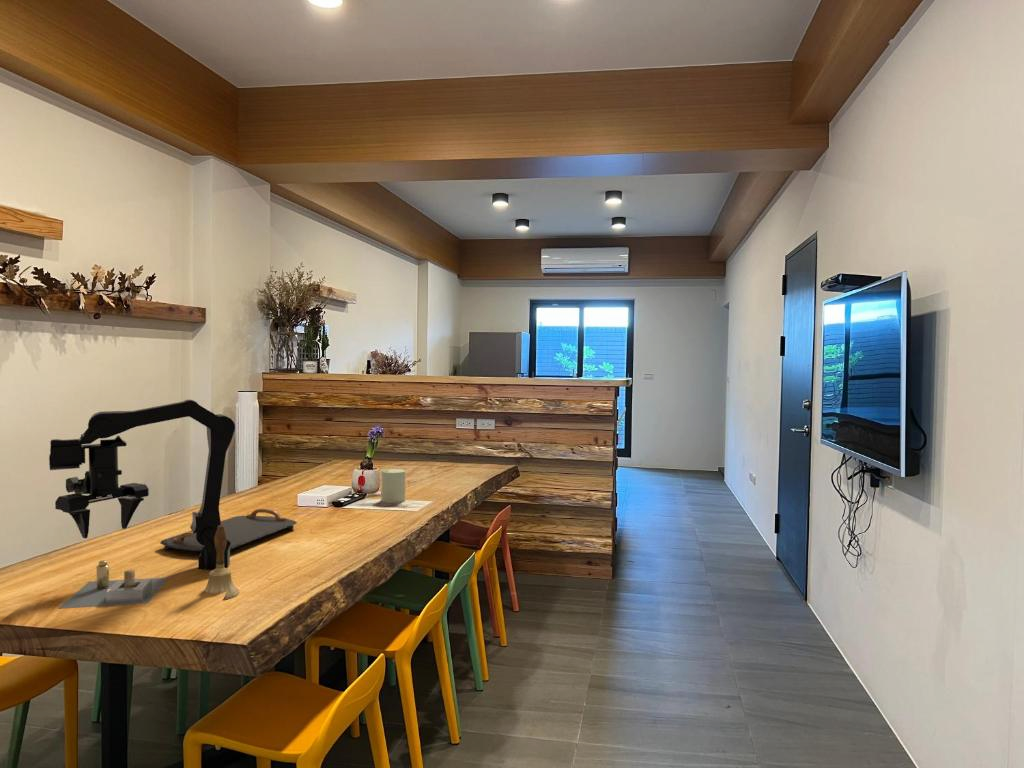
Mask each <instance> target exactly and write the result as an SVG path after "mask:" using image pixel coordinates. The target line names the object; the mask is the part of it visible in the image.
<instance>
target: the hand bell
mask: <svg viewBox="0 0 1024 768" xmlns="http://www.w3.org/2000/svg"><path fill="white" fill-rule="evenodd" d="M214 543H215V548H216V552H217V560H216V561H217V562H216V569H214V570H210V572H209V573H208V580H207V583H206V586H205V587H204V592H205V593H209V594H220V593H221V594H222V593H225V595H224V597H222V598H223V599H222V601H227V600H230V599H233V598H236V597H237V596H238V595H239V594H240V590H239V589H238V588H237V587H236V586H235V584H234V582H233V580H232V573H231V570H230V569H228V568H225V567H224V551H225V548H226V543H227V535H226V532H225V529H224V525H219V526H218V528H217V531H216V534H215V538H214Z"/></svg>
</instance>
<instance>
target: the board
mask: <svg viewBox="0 0 1024 768" xmlns="http://www.w3.org/2000/svg"><path fill="white" fill-rule="evenodd" d="M141 579H142V578H135V580H141ZM147 579H152V590H151V591H150V593H149V594H148V595H147V596H146V597H145V598H144V600H143V601H133V602H117V603H106V591H107V590H108V589H109V588H110V587H111V586H112V585H113V584H114V583H115V582H116V581H122V580H123V579H115V580H114V579H113V580H109V588H107V589H101V590H99V589H97V580H96V581H88V582H86V584H85V585H84V586H82V587H81V588H80V589H79V590H77V592H75V593H74V594H73V595H71V596H70V597H69V598H68V599H67V600H66V601H65V602H63V604H61V605H60V606H59V607H58V608H57V610H59V609H74V608H75V609H76V608H91V607H92V608H93V607H108V606H123V605H140V604H149V603H150V601H151V600H152V599H153V598H154V596H156V594H157V593H158V592H159V591H160V589H161V588H162V587H163V586H164V585H165V583H166V582H167V581H168V580H169V577H167V576H166V577H154V578H153V577H152V578H151V577H150V578H147Z"/></svg>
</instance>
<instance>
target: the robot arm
mask: <svg viewBox="0 0 1024 768" xmlns="http://www.w3.org/2000/svg"><path fill="white" fill-rule="evenodd" d="M187 417H188V418H191V419H193V420H194V421H196V422H198V423H200V424H201V425H203V426H204V427H206V439H207V447H208V455H207V462H206V468H205V477H204V485H203V492H202V499H201V506H200V507H199V509H198V512H196V511H193V512H192V513H191V514H192V515H191V516H192V522H191V524H190V526H189V528H190V531H192V532H193V534H194V536H195V538H196V540H197V541H198V542H199V543H200V544H201V545H204V547H203V548H202V549H201V551H200V554H199V555H198V557H197V558H198V562H197V563H198V568H197V569H198V570H207V571H212V570H214V569H216V562H217V561H216V560H217V552H216V548H215V543H214V538H215V534H216V531H217V528H218V526H219V525H221V521H222V520H221V513H220V502H221V493H222V488H223V479H224V470H225V465H226V464H225V462H226V455H227V453H228V449H229V448H230V445H231V443H232V441H233V436H234V434H235V431H236V425H235V424H236V423H235V422H234V420H233V419H232V418H231V417H229V416H226V415H225V414H223V413H222V414H220V413H219V414H218V413H217V414H215V413H213V412H212V411H210V410H208V409H206V408H205V407H203V406H202V405H200V404H199V403H198V402H197V401H195V400H194V399H185V400H183V401H177V402H173V403H168V404H163V405H158V406H152V407H146V408H141V409H135V410H114V411H113V410H112V411H111V410H110V411H108V410H107V411H99V412H96V413H93V414H92V415H91V417H90V418H89V420H88V423H87V425H88V426H87V429H86V430H85V431H84V432H83V433H81V434H80V437H79V438H72V439H60V438H59V439H58V438H54V439H51V440H50V447H49V448H50V449H49V455H48V457H49V458H48V459H49V460H48V461H49V462H48V463H49V464H48V465H49V471H57V470H58V471H59V470H74V469H80V468H81V466H82V465H83V464H86V449H88V470H87V471H85V473H84V478H81V479H79V477H78V476H73V477H68V478H66V479H65V489H66V490H65V491H66V492H67V493H70V494H65V495H60V496H58V497H57V499H56V500H55V501H54V502H55V503H54V504H55V507H54V508H55V510H59V511H62V513H66V514H67V513H68V514H69V515H70V516H71V517H72V519H73V521H74V522H75V524H76V527H77V528H78V530H79V532H80V536H81V537H82V538H83V539H88V536H89V531H90V529H89V528H90V516H91V509H89V508H88V506H90V504H94V503H98V502H103V501H109V500H114V499H117V500H118V502H119V504H120V523H121V529H123V530H126V529H127V528H128V525H129V523H130V521H131V520H132V518H133V515H134V514H135V512H136V510H137V508H138V507H139V505H140V503H141V502H144V500H145V497H149V496H150V489H149V486H148V485H147V484H145V483H137V482H131V483H127V484H121V485H120V486H119V476H121V475H123V471H122V469H119V459H118V457H119V454H118V453H119V452H118V448H119V447H126V446H128V445H127V442H126V441H125V440H124V439H122V438H121V437H120V435H119V434H122V433H125V432H126V431H129V430H131V429H134V428H137V427H141V426H147V425H151V424H156V423H161V422H163V423H164V422H167V421H171V420H176V419H181V418H187ZM113 436H116V437H115V438H112V439H111V437H113ZM108 438H110V439H108ZM98 439H100V440H99V441H100V443H94V442H95V441H97V440H98ZM93 443H94V444H93ZM230 544H231V542H230V541H229V539H228V538H227V543H226V548H225V551H224V567H225V568H226V569H228V568H229V567H230V566H231V564H230V563H231V558H230V557H231V550H230Z"/></svg>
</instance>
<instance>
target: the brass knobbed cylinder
mask: <svg viewBox="0 0 1024 768" xmlns="http://www.w3.org/2000/svg"><path fill="white" fill-rule="evenodd" d="M96 581H97V589H99V590H101V589H107V588H109V581H110V564H108V561H107V560H99V561H98V565H96Z"/></svg>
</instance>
